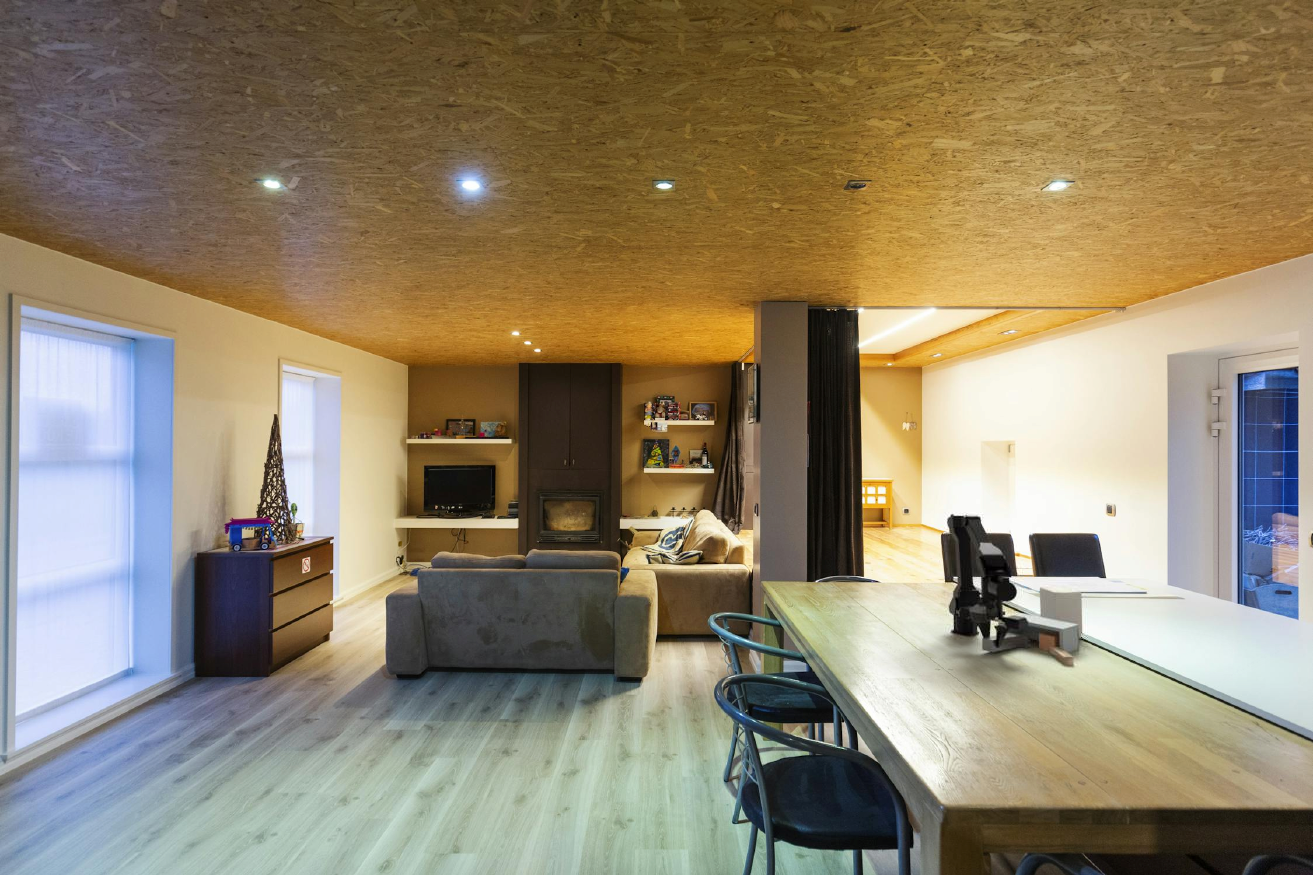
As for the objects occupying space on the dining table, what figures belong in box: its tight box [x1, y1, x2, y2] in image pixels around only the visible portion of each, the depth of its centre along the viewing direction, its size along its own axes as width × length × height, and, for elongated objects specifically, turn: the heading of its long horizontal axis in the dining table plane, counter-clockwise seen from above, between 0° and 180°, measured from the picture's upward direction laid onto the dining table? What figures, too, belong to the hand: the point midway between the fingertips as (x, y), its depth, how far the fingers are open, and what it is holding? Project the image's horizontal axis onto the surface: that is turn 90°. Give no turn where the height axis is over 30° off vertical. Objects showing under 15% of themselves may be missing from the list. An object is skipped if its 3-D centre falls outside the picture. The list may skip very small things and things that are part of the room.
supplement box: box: [1039, 586, 1083, 639], centre depth 217 cm, size 9×9×15 cm
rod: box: [1049, 647, 1075, 666], centre depth 191 cm, size 2×10×2 cm, turn 168°
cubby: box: [1004, 612, 1080, 654], centre depth 206 cm, size 18×10×8 cm, turn 33°
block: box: [1038, 632, 1060, 652], centre depth 202 cm, size 4×4×4 cm
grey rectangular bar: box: [981, 631, 1031, 653], centre depth 201 cm, size 18×7×4 cm, turn 123°
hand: (992, 646), depth 198 cm, fingers closed on grey rectangular bar, 3 cm apart
